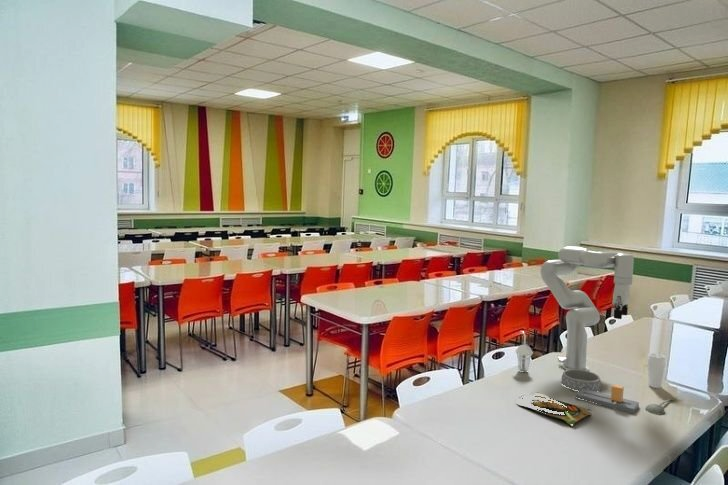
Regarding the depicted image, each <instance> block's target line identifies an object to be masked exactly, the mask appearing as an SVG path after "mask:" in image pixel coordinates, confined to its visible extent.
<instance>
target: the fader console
mask: <svg viewBox="0 0 728 485" xmlns="http://www.w3.org/2000/svg"><path fill="white" fill-rule="evenodd" d="M576 397H577V398H580V399H584V400H587V401H591V402H594V403H593V404H595V403H597V404H596V405H598V404H601V405H600V406H602V405H604V406H603V407H606V406H607V407H606V408H610V407H611V408H610V409H614V408H615V409H614V410H617V409H618V411H621V410H622V411H621V412H625V411H626V412H625V413H629V412H630V414H633V413H634V414H635V412H636V411H637V410H638V408H639V407H640V406H639V404H640V402H638V401H635V400H632V399H627V398H624V397H623V401H622V402H618V401H614V400H611V394H607V393H603V392H601V391H599V392H595V391H591V390H587V389H583V388H582V389H581V390H580V391H579V392H576V393H575V398H576ZM587 401H586V402H587ZM591 402H590V403H591Z"/></svg>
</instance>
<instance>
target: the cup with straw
mask: <svg viewBox="0 0 728 485" xmlns="http://www.w3.org/2000/svg"><path fill="white" fill-rule="evenodd" d="M520 333H522V335H523V337H524V338H523V344H520V345H519V346H517V348H516V350H515V351H514V352H515V354H516V356H517V357H516V358H517V366H518V371H519V370H520V371H523V372H527V371H528V372H529V369H530V368H529V367H530V363H531V358H532V356H533V354H534V352H533V351H532V349H531V347H530V346H529V345H527V344H526V342H527V340H526V339H527V338H526V337H527V336H526V334H525V332H524V331H523V330H520Z"/></svg>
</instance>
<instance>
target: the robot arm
mask: <svg viewBox="0 0 728 485" xmlns="http://www.w3.org/2000/svg"><path fill="white" fill-rule="evenodd" d="M557 256H558V259H551V260H547V261H544V262H543V264H541V268H540V277H541V279H542V281H543V282H544V284H545V285H546V286H547V287H548V289H549V290H550V292H551V294H552V295H553V297H554V298H555V300H556V301H557V303H558V304H559V306H560V307H561V308H562V309H564V310H568V311H567V312H566V315H565V322H566V349H565V350H566V351H565V352H566V353H565V354H566V355H565V357H561V356H558V358H557V360H558V362H560V363H563V364H562V368H563V369H564V370H565V371H566V370H570V369H578V370H585V371H589V372H590V367H589V366H587V351H588V350H587V349H588V334H587V331H586V328H585V327H589V326H594V325H597V324H598V323H599V322H600V319H601V316H600V315H601V314H600V312H599V310H598V309H597V307H596V306H595V304H594V303H593V302H592V300H591V299H590V297H589V296H588V294H587V293H586V292H585V291H582V290H579V289H575V290H572V289H570V288H569V286H568V284H567V283H566V282H565V280H563V279H561V278H560V277H559V276H568V275H571V274H572V273H573V272H574V271H576V269H578V267H579V266H585V267H588V268H596V269H604V268H605V269H606V268H614V276H613V284H614V290H613V296H612V297H613V298H612V305H614V308H613V310H614V311H613V318H614V319H617V320H622V317H623V316H628V311H629V310H628V308H629V307H628V305H629V302H630V290H631V289H630V288H631V285H633V279H634V277H633V276H634V260H635V258H634V255H632V253H631V254H630V253H622V252H619V251H591V249H589V248H586V247H582V246H578V245H575V246H574V245H573V246H563V247H562V248H561V249H560V250H559V251H558V254H557Z"/></svg>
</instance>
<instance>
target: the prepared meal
mask: <svg viewBox="0 0 728 485" xmlns="http://www.w3.org/2000/svg"><path fill="white" fill-rule="evenodd" d="M536 393H539V391H538V392H536ZM522 396H523V395H521V396H520V397H522ZM535 397H541V396H535ZM541 398H545V397H541ZM551 398H552V397H551ZM551 398H550V399H551ZM522 399H523V398H522ZM545 399H546V398H545ZM554 399H555V398H553V400H554ZM555 400H556V401H558V402H560V403H562V404H564V405H565V406H567V408H566V407H564V406H563V405H559V404H557V403H554V401H552V403H550V402H544V401H542V402H541V401H537V402H535V401H534V402H533V405H534V406H538V407H540V408H546V409H549V410H552V411H557V412H564V414H565V415H561V414H560V415H559V414H553V413H548V412H545V411H544V410H542V411H541V410H539V411H541V412H543V413H544V414H543V415H545V413H546V416H548V415H549V417H552V418H556V419H560V420H563V421H564V422H565V423H567V424H568V423H569V424H573V425H574V426H575V423H577V422H579V421H580V420H582V419H584V418H586V417H588V416H590V415H589V414H591V415H592V411H591V409H589V408H586V407H584V406H580V405H576V404H571V403H569V402H564V401H561V400H557V399H555ZM548 401H551V400H548ZM562 406H563V407H562ZM537 410H538V409H537ZM567 411H568V412H567ZM569 424H568V425H569Z"/></svg>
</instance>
